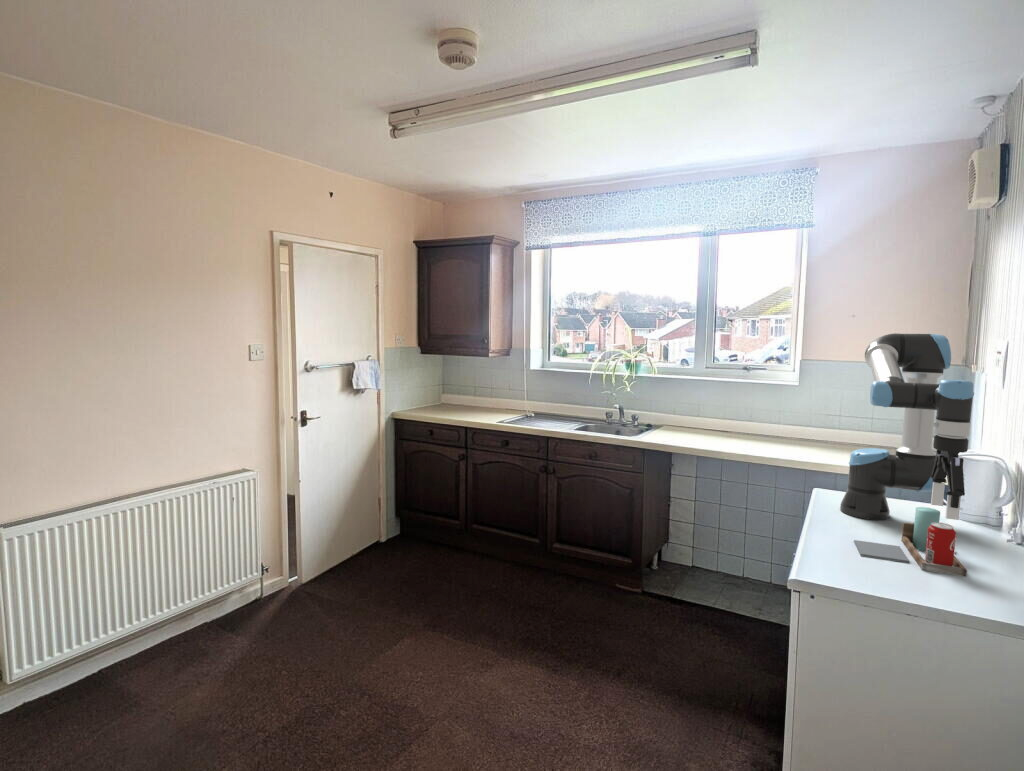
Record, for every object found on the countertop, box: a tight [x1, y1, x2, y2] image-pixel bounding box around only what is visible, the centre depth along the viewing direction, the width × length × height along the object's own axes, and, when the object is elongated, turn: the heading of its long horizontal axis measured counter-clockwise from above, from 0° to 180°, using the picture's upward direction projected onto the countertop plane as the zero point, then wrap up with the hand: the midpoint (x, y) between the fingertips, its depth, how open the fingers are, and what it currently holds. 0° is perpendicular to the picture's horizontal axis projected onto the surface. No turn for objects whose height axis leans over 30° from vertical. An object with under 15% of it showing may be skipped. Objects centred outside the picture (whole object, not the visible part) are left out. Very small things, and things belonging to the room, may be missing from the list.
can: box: [912, 506, 941, 553], centre depth 174 cm, size 6×6×12 cm
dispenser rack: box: [901, 522, 968, 577], centre depth 167 cm, size 24×10×6 cm, turn 157°
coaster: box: [853, 539, 910, 564], centre depth 171 cm, size 12×12×1 cm
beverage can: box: [924, 521, 957, 567], centre depth 161 cm, size 6×6×12 cm
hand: (944, 511), depth 159 cm, fingers open, 13 cm apart
